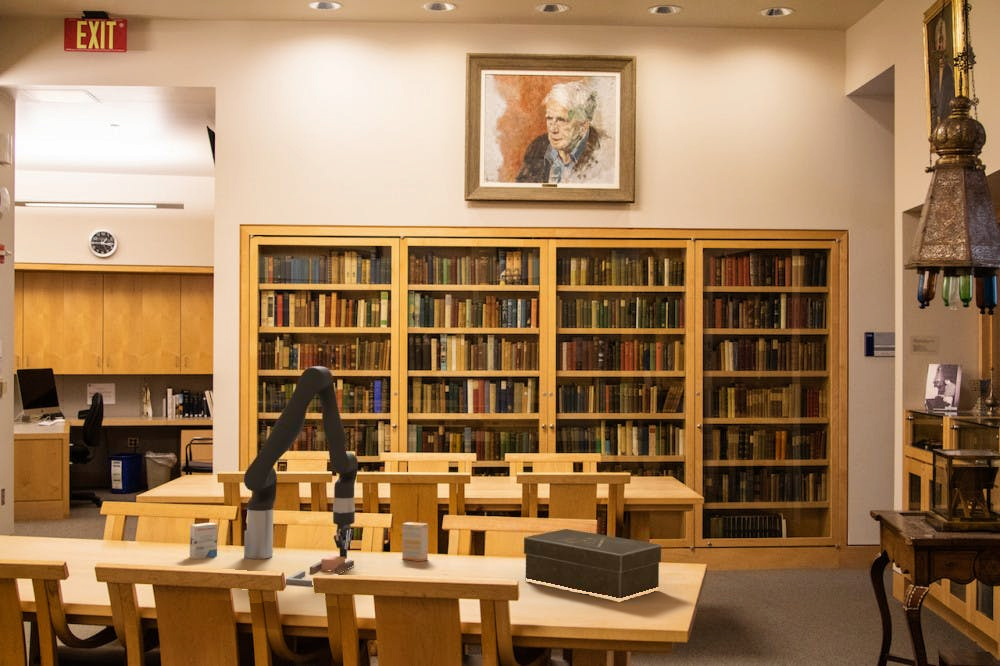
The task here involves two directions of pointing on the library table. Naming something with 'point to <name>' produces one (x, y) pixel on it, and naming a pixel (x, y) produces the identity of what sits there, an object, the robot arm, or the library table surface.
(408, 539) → the supplement box
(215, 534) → the ink box
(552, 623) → the library table surface
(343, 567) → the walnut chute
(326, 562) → the terracotta block
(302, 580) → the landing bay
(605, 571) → the box
